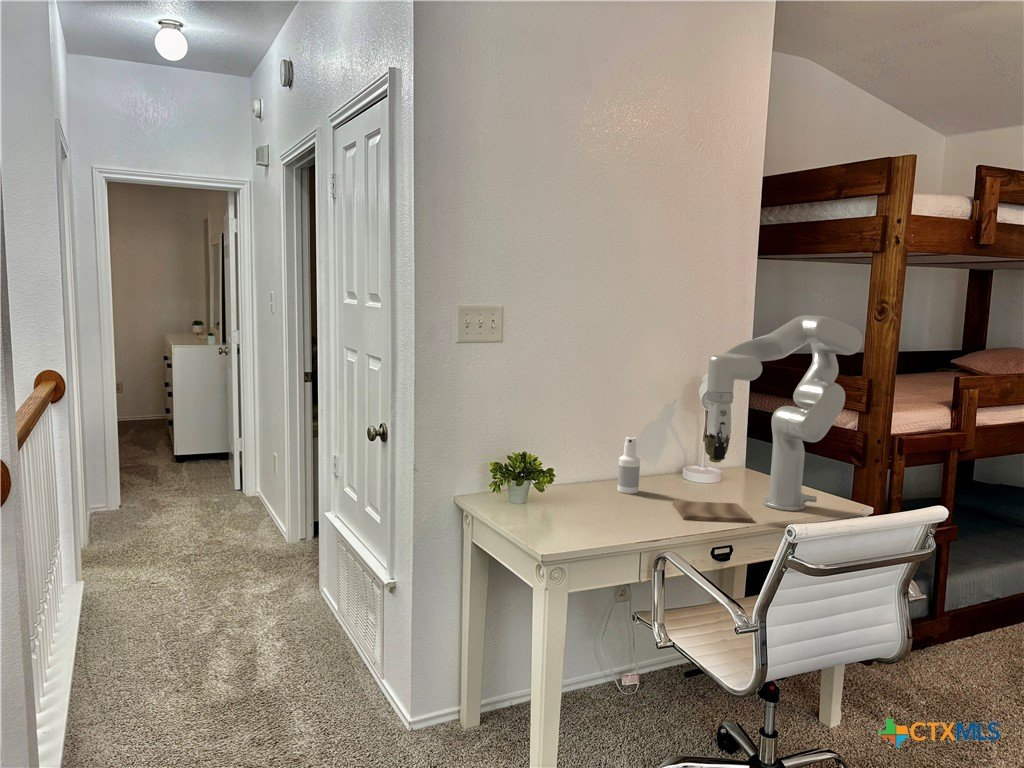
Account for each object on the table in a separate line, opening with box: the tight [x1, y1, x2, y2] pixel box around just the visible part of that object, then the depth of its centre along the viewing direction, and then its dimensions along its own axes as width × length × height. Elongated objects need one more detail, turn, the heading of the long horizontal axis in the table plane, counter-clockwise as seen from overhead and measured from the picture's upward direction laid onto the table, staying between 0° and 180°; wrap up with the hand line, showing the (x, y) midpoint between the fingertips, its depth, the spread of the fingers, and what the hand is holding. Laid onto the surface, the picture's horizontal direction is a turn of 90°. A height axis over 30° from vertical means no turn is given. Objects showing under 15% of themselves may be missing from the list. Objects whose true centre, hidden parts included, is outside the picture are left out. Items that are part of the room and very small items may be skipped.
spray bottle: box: [616, 436, 641, 495], centre depth 250 cm, size 7×7×18 cm
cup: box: [703, 433, 731, 464], centre depth 226 cm, size 8×7×8 cm
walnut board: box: [672, 500, 754, 523], centre depth 229 cm, size 20×16×1 cm
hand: (715, 456), depth 227 cm, fingers closed on cup, 6 cm apart
